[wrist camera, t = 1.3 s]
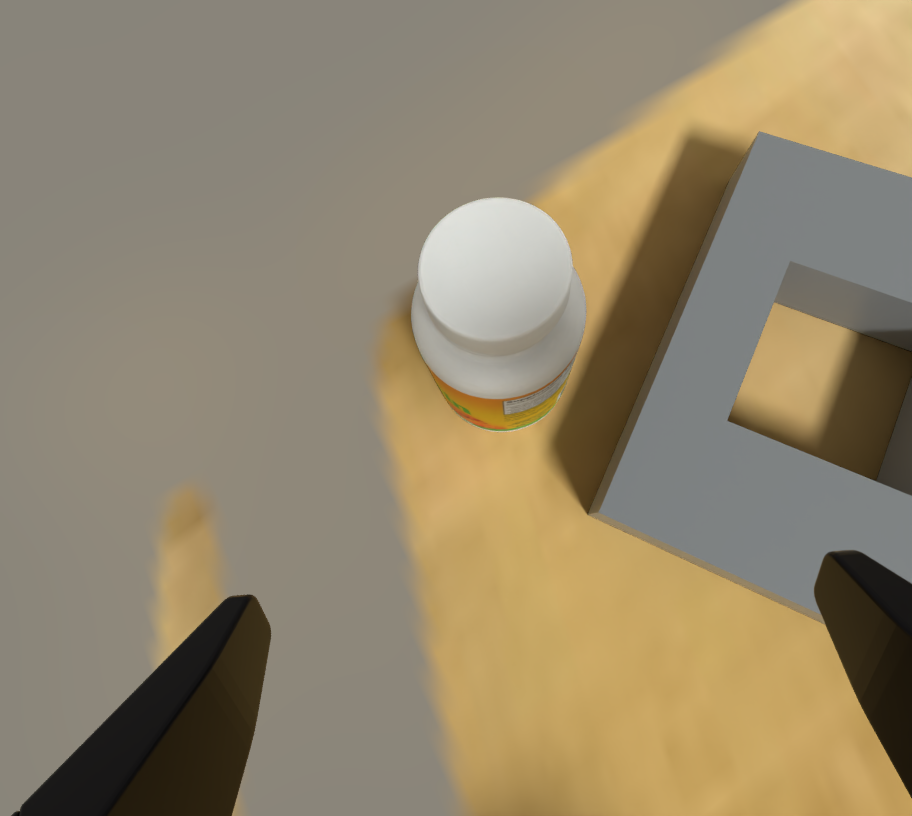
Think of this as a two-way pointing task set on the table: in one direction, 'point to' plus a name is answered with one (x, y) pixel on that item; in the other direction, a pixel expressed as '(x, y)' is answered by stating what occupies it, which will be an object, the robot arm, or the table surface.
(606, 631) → the table surface
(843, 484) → the holder
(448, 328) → the supplement bottle
